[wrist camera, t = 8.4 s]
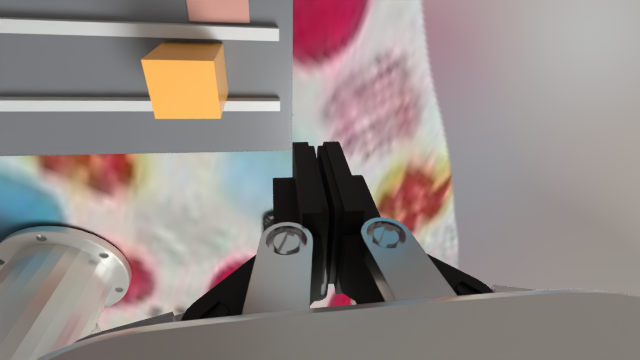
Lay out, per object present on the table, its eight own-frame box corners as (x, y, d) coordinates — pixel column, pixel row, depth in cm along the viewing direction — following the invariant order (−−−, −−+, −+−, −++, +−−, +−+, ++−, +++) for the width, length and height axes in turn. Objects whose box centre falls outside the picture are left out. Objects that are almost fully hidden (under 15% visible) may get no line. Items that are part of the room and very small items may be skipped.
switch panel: (290, 140, 30) (292, 154, 28) (-83, 145, 26) (-117, 163, 24) (291, -40, 23) (293, -40, 20) (-240, -75, 18) (-312, -80, 16)
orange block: (228, 93, 25) (220, 118, 21) (173, 92, 24) (155, 119, 20) (223, 43, 23) (213, 60, 19) (163, 42, 22) (140, 59, 18)
